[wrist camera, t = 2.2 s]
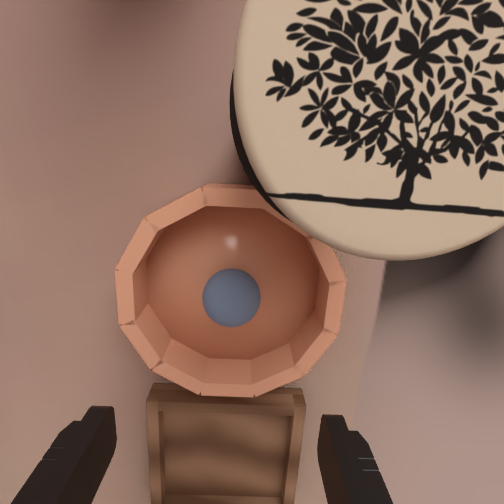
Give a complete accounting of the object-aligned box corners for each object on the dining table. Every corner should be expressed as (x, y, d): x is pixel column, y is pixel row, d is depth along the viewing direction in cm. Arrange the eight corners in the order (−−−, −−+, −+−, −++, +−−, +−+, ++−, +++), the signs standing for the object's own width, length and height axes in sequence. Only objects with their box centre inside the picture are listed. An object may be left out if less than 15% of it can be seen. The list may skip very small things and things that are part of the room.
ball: (237, 319, 27) (236, 349, 22) (195, 290, 26) (185, 316, 22) (270, 281, 26) (274, 305, 21) (227, 250, 25) (223, 268, 21)
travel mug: (253, 66, 22) (278, -278, 5) (361, 94, 23) (734, -116, 5) (230, 179, 24) (187, 231, 7) (328, 202, 25) (517, 303, 7)
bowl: (317, 368, 29) (328, 400, 25) (140, 361, 29) (123, 392, 25) (342, 189, 24) (359, 195, 21) (130, 178, 24) (108, 181, 20)
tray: (288, 496, 34) (291, 520, 32) (158, 493, 33) (151, 516, 31) (301, 388, 30) (306, 406, 28) (153, 383, 29) (146, 401, 27)
